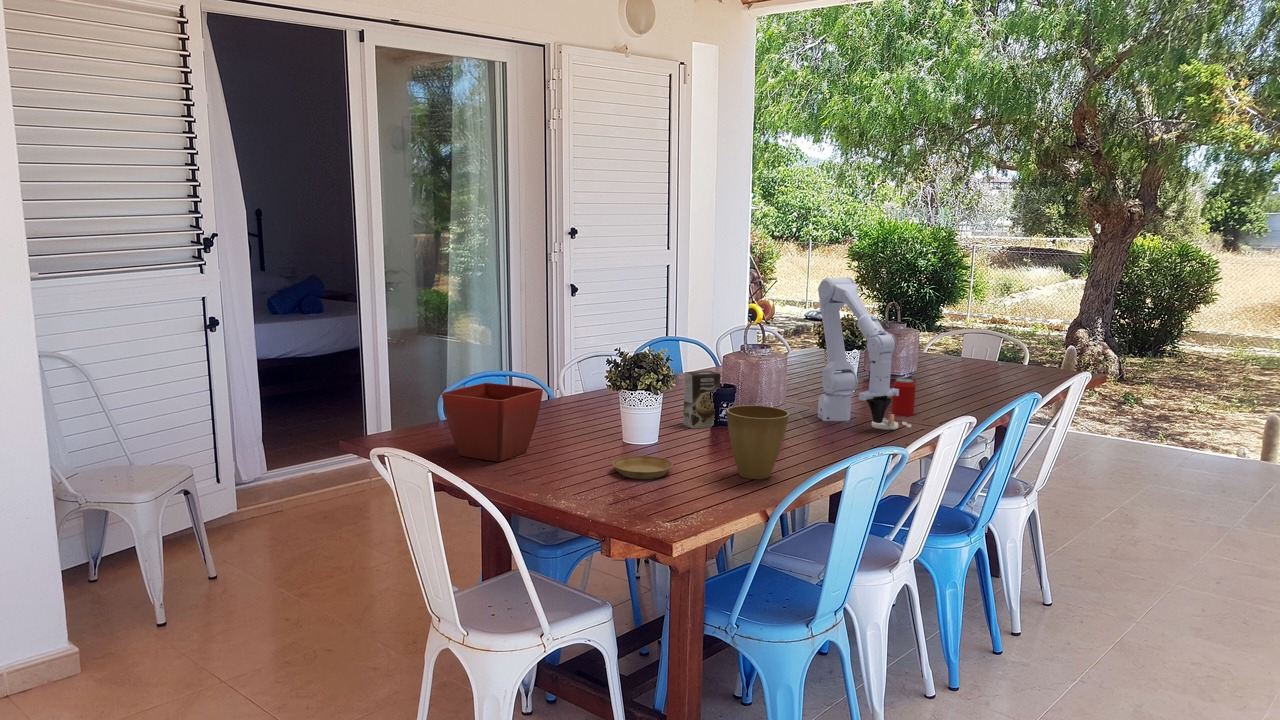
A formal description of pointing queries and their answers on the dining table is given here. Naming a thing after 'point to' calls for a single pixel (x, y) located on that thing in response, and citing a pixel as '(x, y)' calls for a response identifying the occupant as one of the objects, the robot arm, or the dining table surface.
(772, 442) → the plant pot
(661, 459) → the plant saucer
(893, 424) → the white lever switch
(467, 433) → the plant pot
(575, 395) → the dining table surface
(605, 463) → the dining table surface
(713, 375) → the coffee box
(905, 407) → the beverage can
